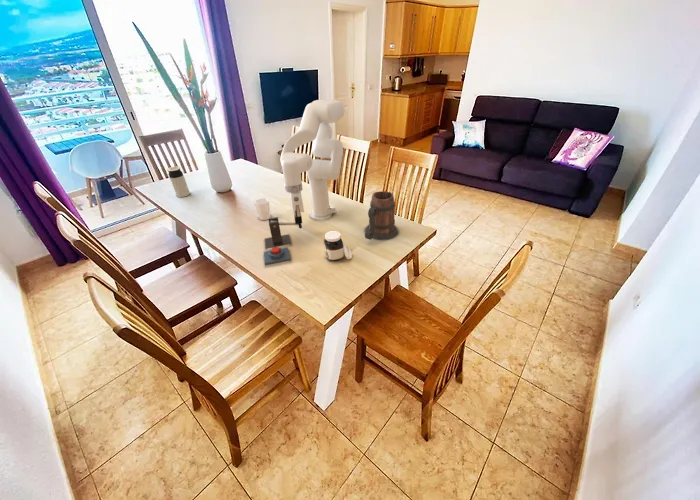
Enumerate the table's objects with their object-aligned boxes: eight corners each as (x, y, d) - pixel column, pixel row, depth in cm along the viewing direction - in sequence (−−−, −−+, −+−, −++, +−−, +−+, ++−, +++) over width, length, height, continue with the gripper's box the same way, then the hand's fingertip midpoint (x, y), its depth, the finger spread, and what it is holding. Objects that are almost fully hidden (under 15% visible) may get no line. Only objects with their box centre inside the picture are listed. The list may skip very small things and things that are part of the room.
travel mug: (192, 192, 198) (183, 166, 188) (185, 197, 192) (175, 170, 181) (181, 192, 199) (171, 166, 189) (174, 197, 192) (163, 170, 182)
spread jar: (322, 252, 137) (320, 231, 131) (345, 246, 141) (344, 225, 134) (331, 267, 128) (330, 245, 122) (355, 260, 132) (355, 238, 125)
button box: (288, 251, 139) (287, 244, 137) (290, 262, 132) (289, 255, 130) (264, 255, 137) (262, 248, 135) (265, 267, 130) (263, 259, 127)
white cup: (268, 221, 163) (265, 204, 157) (255, 220, 165) (251, 203, 159) (274, 214, 170) (271, 198, 164) (261, 213, 171) (258, 197, 165)
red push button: (279, 249, 134) (279, 246, 133) (280, 253, 131) (279, 250, 130) (271, 250, 133) (270, 247, 132) (272, 255, 131) (271, 252, 130)
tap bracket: (289, 236, 150) (285, 213, 143) (291, 245, 143) (287, 222, 135) (264, 240, 147) (259, 217, 140) (266, 250, 140) (260, 227, 133)
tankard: (375, 219, 161) (375, 185, 150) (403, 227, 154) (406, 192, 142) (351, 240, 145) (350, 203, 134) (382, 250, 138) (384, 212, 126)
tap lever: (299, 223, 146) (300, 219, 145) (301, 229, 141) (302, 224, 140) (270, 222, 141) (270, 218, 140) (271, 228, 137) (271, 224, 135)
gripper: (304, 192, 127) (309, 229, 137) (299, 179, 138) (304, 214, 149) (287, 194, 125) (293, 231, 135) (283, 182, 137) (289, 217, 147)
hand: (298, 222), depth 142 cm, fingers closed
